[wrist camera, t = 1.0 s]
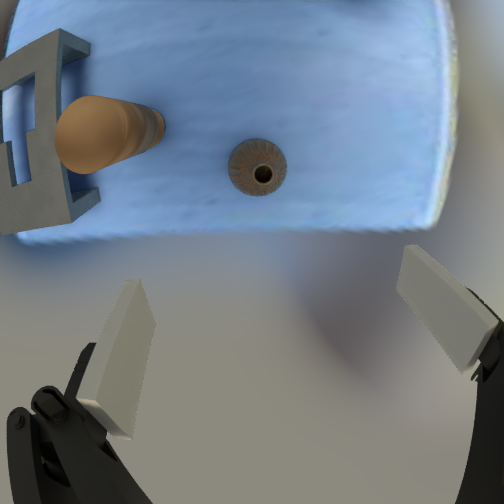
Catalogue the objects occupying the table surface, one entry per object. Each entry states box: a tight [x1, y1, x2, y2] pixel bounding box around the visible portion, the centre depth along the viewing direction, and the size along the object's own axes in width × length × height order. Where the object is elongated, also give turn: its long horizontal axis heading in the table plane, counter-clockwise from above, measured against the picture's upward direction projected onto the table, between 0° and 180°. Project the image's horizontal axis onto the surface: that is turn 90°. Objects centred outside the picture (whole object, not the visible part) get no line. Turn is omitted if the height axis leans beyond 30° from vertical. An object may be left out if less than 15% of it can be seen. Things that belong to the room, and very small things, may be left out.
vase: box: [228, 139, 287, 196], centre depth 31 cm, size 7×7×9 cm
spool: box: [54, 95, 165, 174], centre depth 23 cm, size 6×6×17 cm
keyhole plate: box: [0, 28, 101, 235], centre depth 24 cm, size 24×14×9 cm, turn 2°
